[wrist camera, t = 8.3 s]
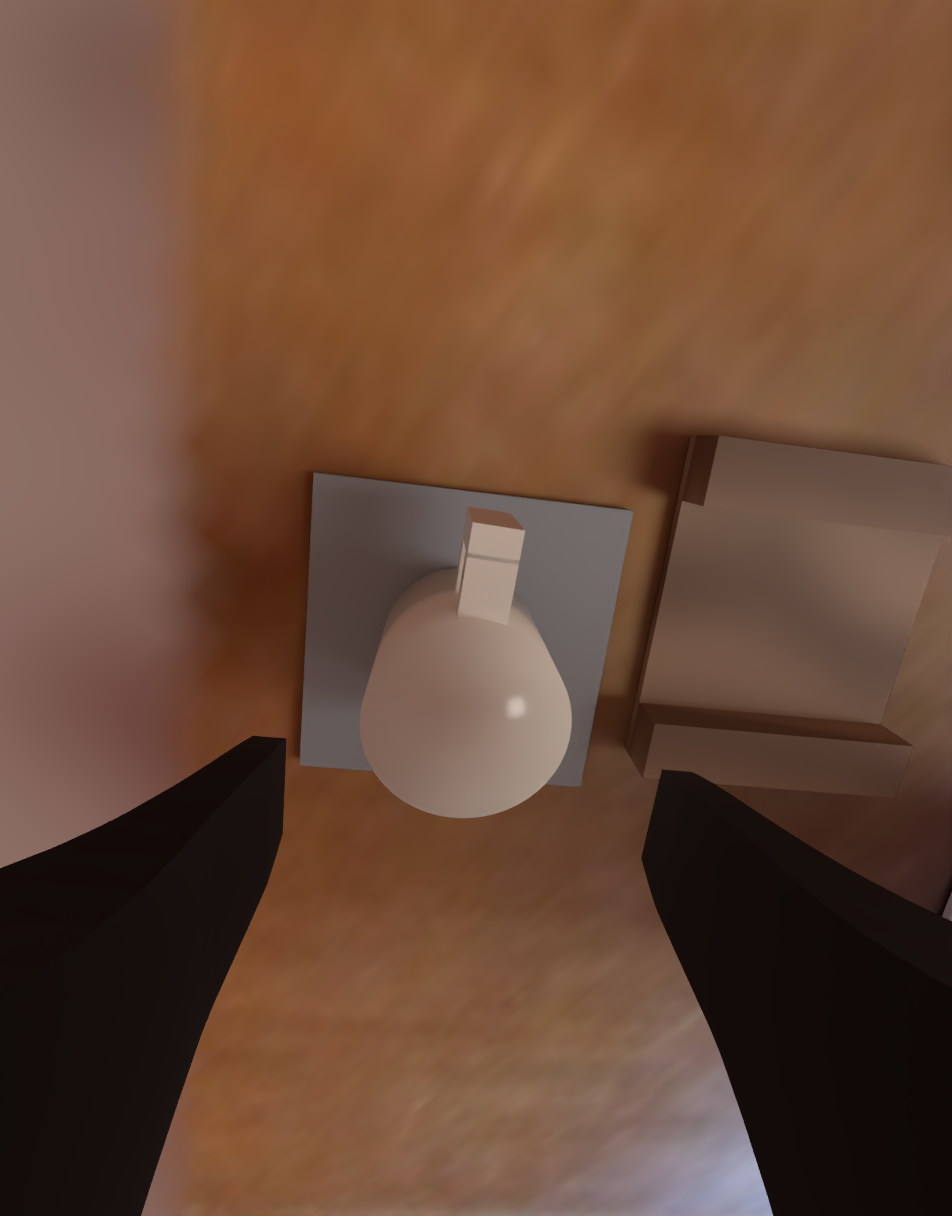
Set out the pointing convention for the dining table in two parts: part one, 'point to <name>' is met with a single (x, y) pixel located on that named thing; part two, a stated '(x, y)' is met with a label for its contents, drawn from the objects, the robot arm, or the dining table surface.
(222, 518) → the dining table surface
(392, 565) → the grey mat
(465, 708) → the cream jug
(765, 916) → the robot arm
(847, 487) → the walnut cradle
